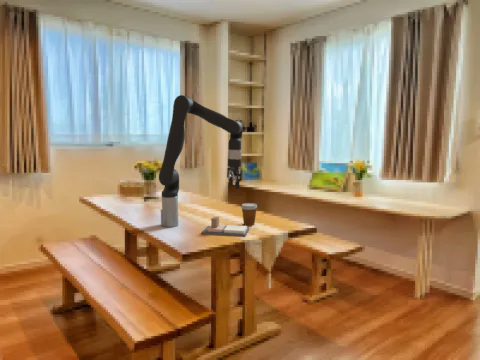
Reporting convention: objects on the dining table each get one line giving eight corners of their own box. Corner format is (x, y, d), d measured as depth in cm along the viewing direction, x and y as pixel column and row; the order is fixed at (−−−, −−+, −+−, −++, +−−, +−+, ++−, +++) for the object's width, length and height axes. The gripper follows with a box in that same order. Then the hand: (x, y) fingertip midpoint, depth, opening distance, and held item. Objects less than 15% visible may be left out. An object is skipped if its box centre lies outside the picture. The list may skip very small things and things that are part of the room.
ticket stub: (207, 231, 190) (207, 219, 189) (212, 226, 200) (212, 215, 199) (221, 232, 188) (221, 220, 188) (226, 227, 198) (226, 216, 197)
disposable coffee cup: (247, 227, 202) (247, 206, 201) (237, 223, 210) (238, 204, 208) (260, 224, 208) (260, 204, 206) (250, 221, 216) (250, 202, 214)
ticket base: (201, 233, 189) (201, 229, 189) (208, 227, 202) (208, 223, 202) (245, 236, 185) (245, 231, 184) (249, 229, 197) (249, 225, 197)
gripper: (223, 157, 197) (222, 185, 199) (233, 159, 184) (233, 189, 187) (235, 156, 200) (234, 185, 203) (246, 159, 188) (245, 189, 190)
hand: (233, 187), depth 195 cm, fingers open, 8 cm apart
